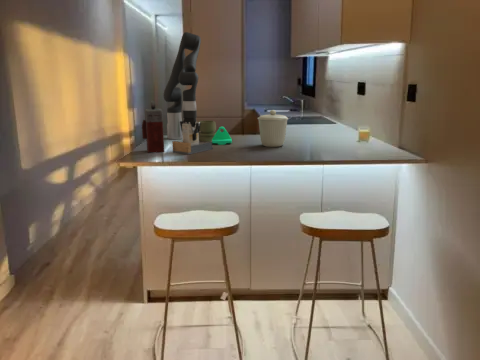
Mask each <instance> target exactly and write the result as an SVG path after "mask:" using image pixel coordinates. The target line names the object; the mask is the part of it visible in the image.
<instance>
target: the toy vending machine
mask: <svg viewBox="0 0 480 360" xmlns="http://www.w3.org/2000/svg"><path fill="white" fill-rule="evenodd" d="M144 117H145V118H144V119H143V120H142V122H141V132H142V139H143V140H145V139H146V151H147V153H148V154H150V153H149V152H156V153H165V141H164V138H165V137H164V121H163V118H164V117H163V110H162V108H156V101H155V100H151V101H150V108H146V109H144Z"/></svg>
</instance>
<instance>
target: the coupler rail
mask: <svg viewBox="0 0 480 360" xmlns="http://www.w3.org/2000/svg"><path fill="white" fill-rule="evenodd" d="M213 149H214V148H213V143H212V141H208V142H204V143H201V141H199V144H197V145H192V146H191V143H187V142H183V141H179V140H178V141H177V140H173V141H172V152H173V153H175V154H184V155H192V154H196V153H197V154H198V153H201V152H205V151H210V150H213Z"/></svg>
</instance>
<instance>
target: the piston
mask: <svg viewBox="0 0 480 360" xmlns="http://www.w3.org/2000/svg"><path fill="white" fill-rule="evenodd" d="M198 122H200V123H201V125H200V131H199V133H198V136H199V141H200V142H204V143H207V142H212V139H213V137H214V135H215V134H216V132H217V124H216V123H217V122H216V121H214V120H199V121H198Z"/></svg>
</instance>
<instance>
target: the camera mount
mask: <svg viewBox="0 0 480 360" xmlns="http://www.w3.org/2000/svg"><path fill="white" fill-rule="evenodd" d="M221 130H223V131H221ZM215 132H216V134H215V135H214V137H213V139H212V141H211V142H212V144H217V145H218V146H221V145H222V146H225V145H226V144H232V143H233V140H232V137H231V136H230V133H229V132H228V130H227V129H226V128H225V126H219V127H218V128H217V129H216V131H215Z"/></svg>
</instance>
